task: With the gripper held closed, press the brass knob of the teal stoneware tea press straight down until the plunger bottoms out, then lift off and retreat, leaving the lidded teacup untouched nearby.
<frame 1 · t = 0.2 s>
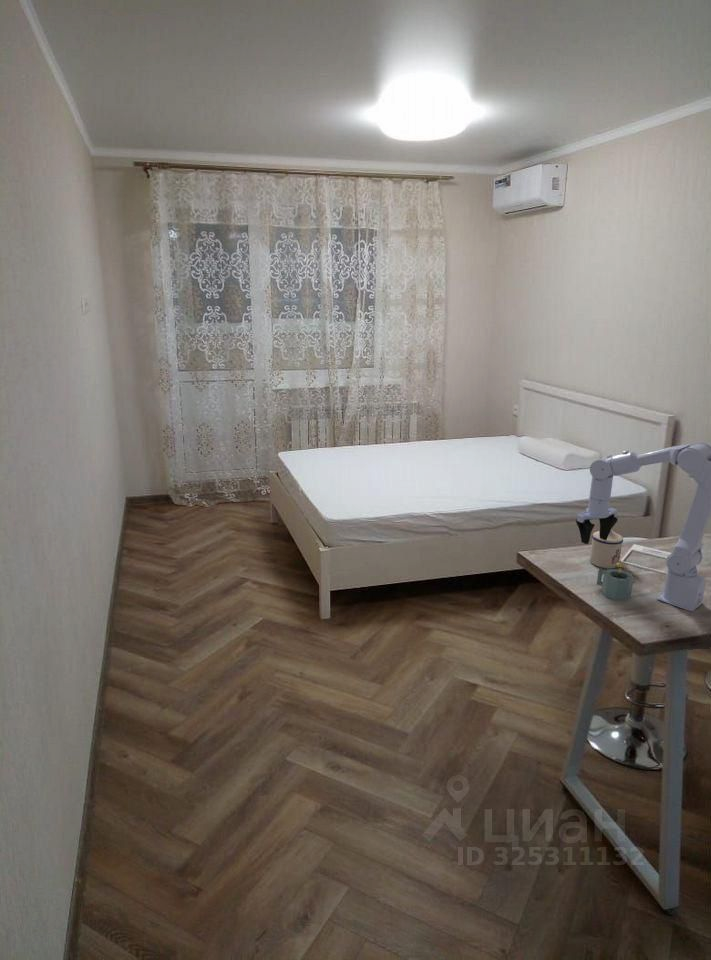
hand: (594, 541, 192), 10 cm above the table, fingers open, 7 cm apart
tea press body: (615, 594, 181), on the table
photo frame: (650, 561, 205), on the table
teacup with lid: (604, 562, 203), on the table
plunger: (619, 572, 179), point 7 cm above the table, slide at 0.0 cm
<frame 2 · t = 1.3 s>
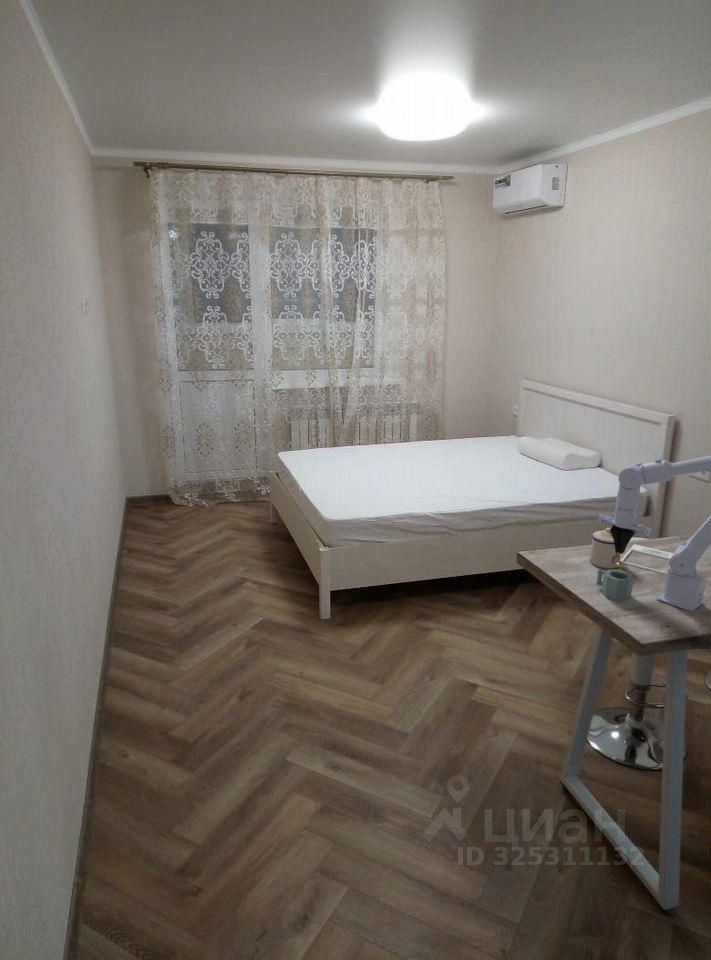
hand: (619, 552, 184), 10 cm above the table, fingers closed
nothing on the table moved.
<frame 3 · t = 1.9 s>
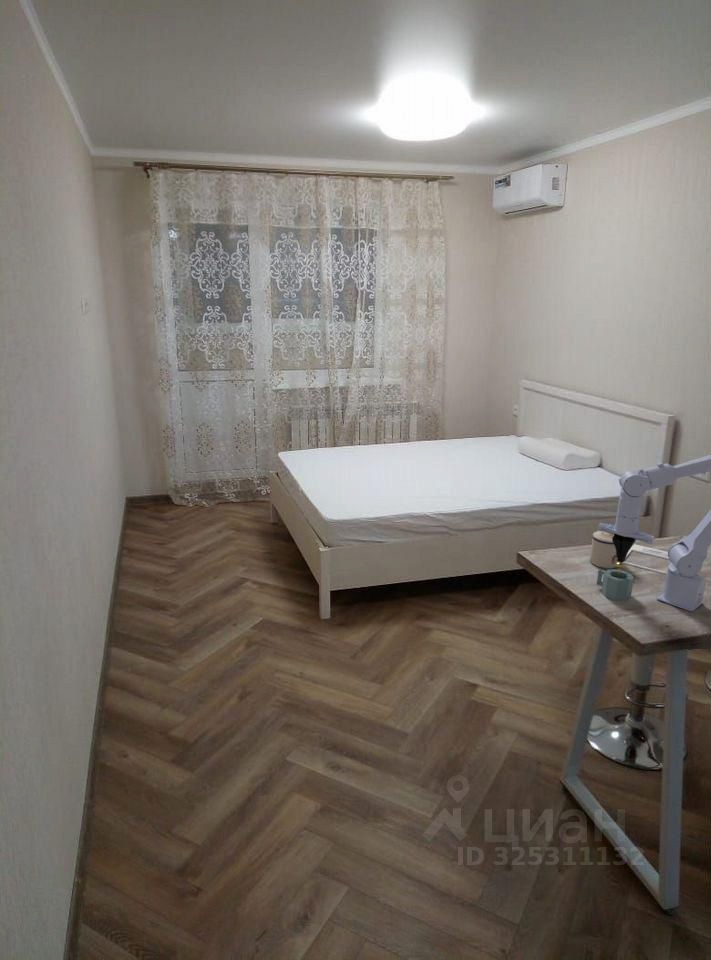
hand: (621, 561, 178), 10 cm above the table, fingers closed
nothing on the table moved.
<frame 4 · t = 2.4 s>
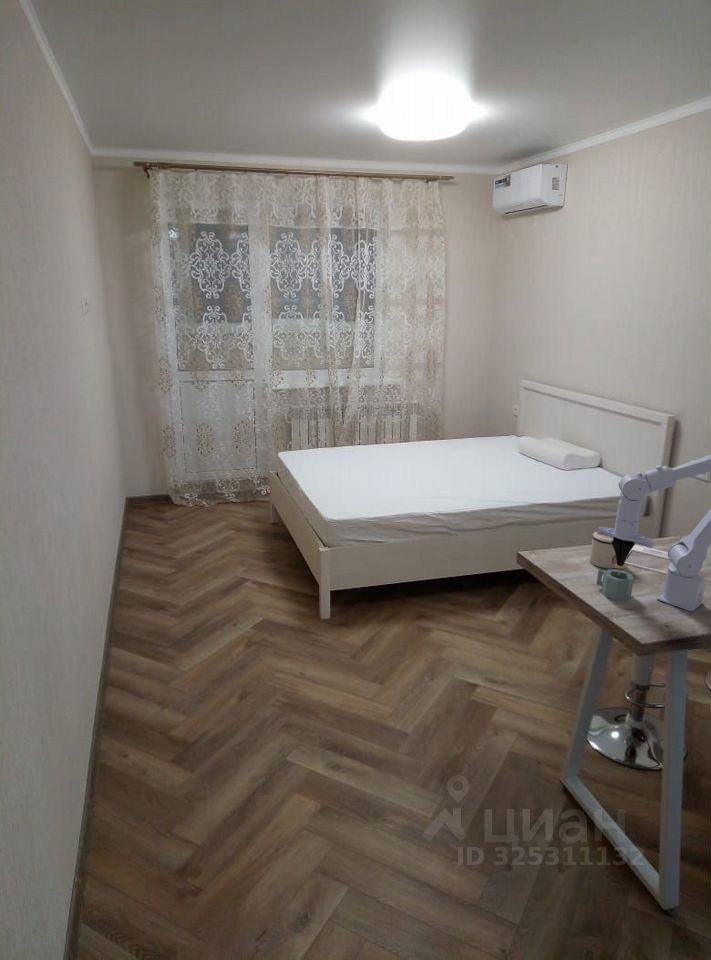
hand: (620, 564, 178), 9 cm above the table, fingers closed, pressing on plunger
plunger: (619, 573, 179), point 7 cm above the table, slide at 0.4 cm, touching gripper
everything else where it was.
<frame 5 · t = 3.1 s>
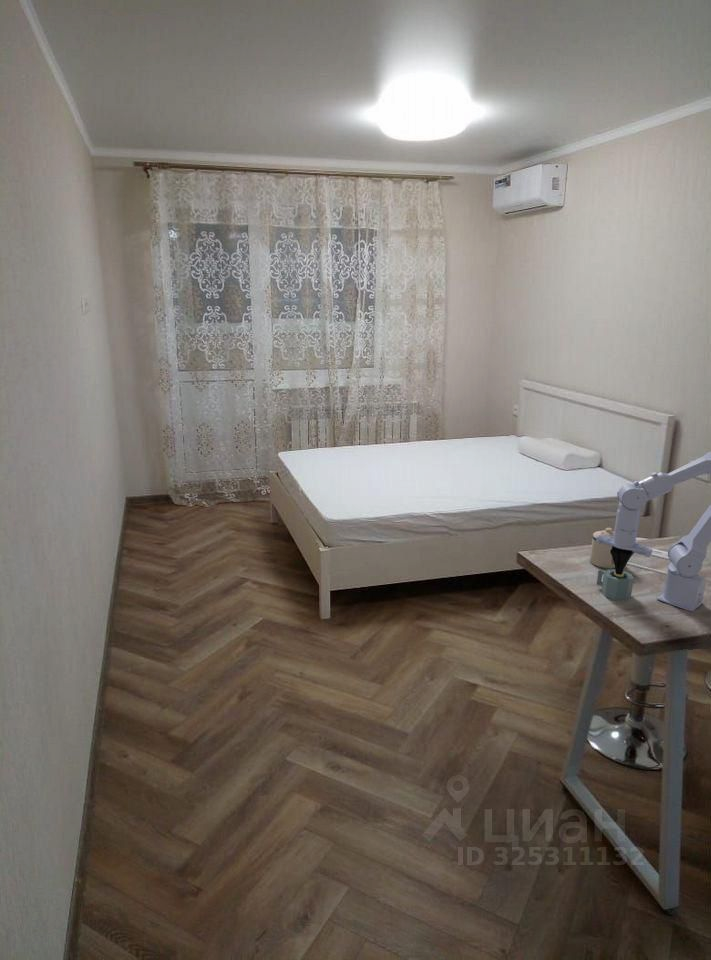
hand: (619, 573, 179), 7 cm above the table, fingers closed, pressing on plunger
plunger: (617, 581, 180), point 4 cm above the table, slide at 3.0 cm, touching gripper
everything else where it was.
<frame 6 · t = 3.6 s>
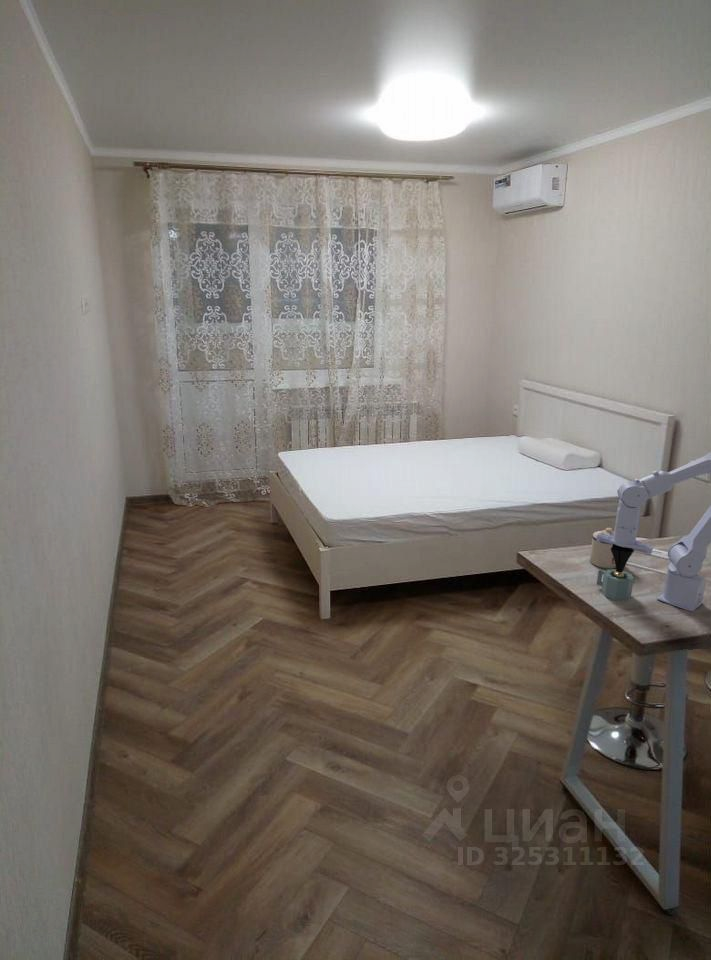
hand: (619, 571, 179), 7 cm above the table, fingers closed
plunger: (617, 581, 180), point 4 cm above the table, slide at 3.0 cm
everything else where it was.
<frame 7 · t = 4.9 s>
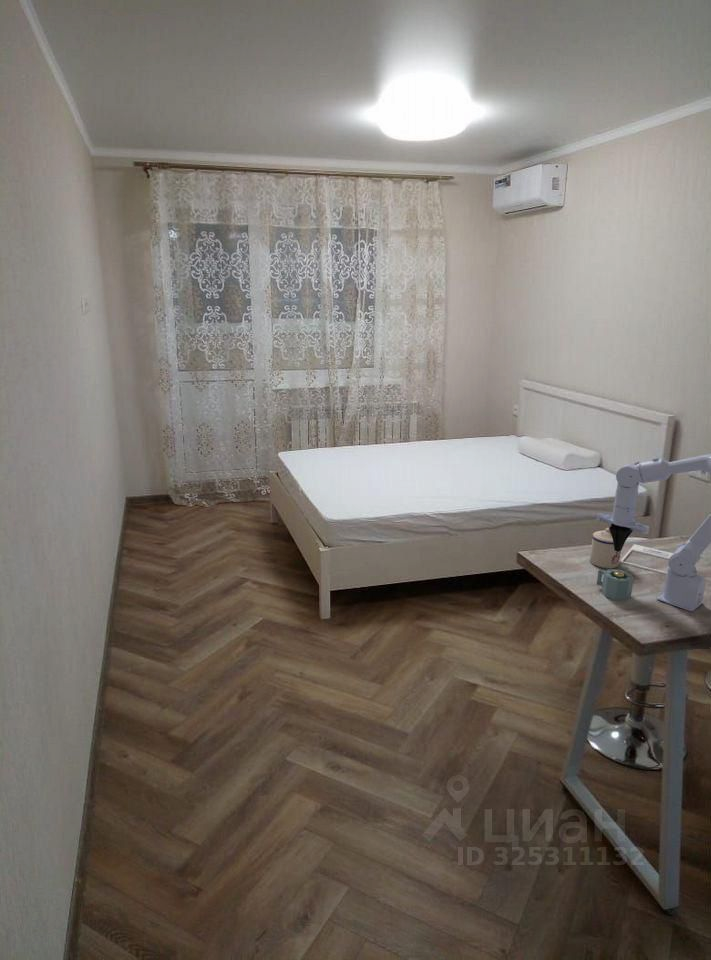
hand: (618, 550, 185), 10 cm above the table, fingers closed
nothing on the table moved.
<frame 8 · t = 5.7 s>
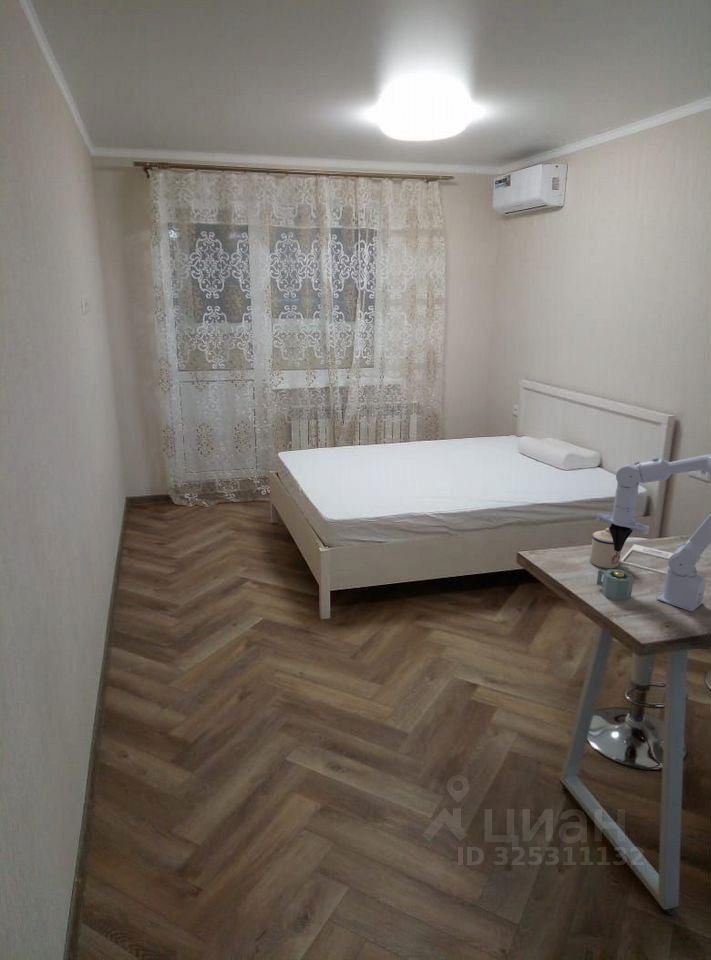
hand: (618, 550, 185), 10 cm above the table, fingers closed
nothing on the table moved.
at the end: plunger slide at 3.0 cm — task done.
